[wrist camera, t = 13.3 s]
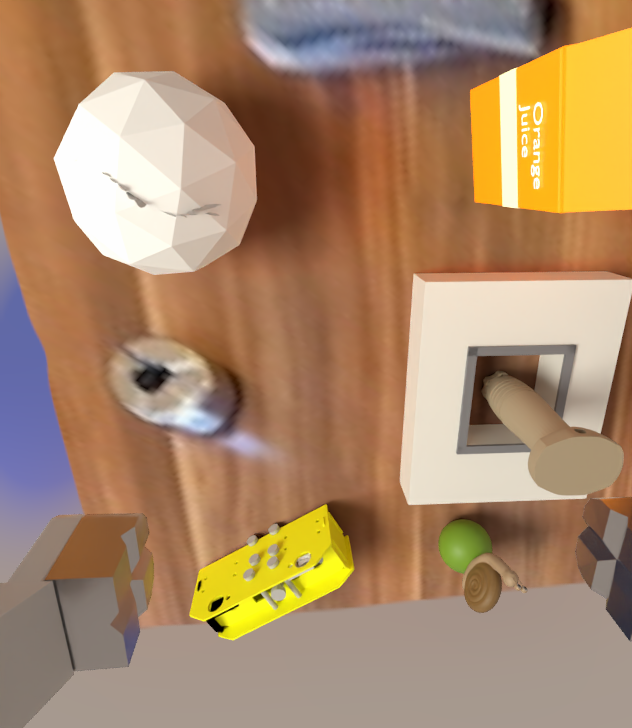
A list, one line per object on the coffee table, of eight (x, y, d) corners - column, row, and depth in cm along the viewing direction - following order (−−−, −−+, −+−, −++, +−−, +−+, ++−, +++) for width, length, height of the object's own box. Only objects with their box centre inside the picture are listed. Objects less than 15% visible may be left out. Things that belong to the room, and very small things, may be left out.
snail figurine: (495, 512, 55) (549, 598, 44) (463, 555, 57) (507, 648, 46) (454, 494, 54) (498, 578, 43) (423, 539, 56) (458, 630, 45)
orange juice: (473, 203, 43) (616, 222, 25) (468, 89, 40) (627, 13, 22) (562, 187, 43) (772, 196, 25) (564, 73, 40) (806, -18, 22)
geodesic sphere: (326, 109, 35) (173, 39, 24) (290, 298, 40) (147, 314, 28) (184, 90, 42) (13, 29, 31) (167, 254, 46) (13, 253, 35)
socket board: (413, 273, 45) (426, 282, 41) (606, 271, 46) (637, 280, 42) (399, 481, 53) (409, 506, 49) (565, 476, 54) (587, 500, 50)
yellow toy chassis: (323, 496, 53) (330, 551, 45) (349, 533, 55) (359, 592, 47) (197, 561, 55) (183, 625, 48) (226, 595, 57) (217, 661, 49)
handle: (523, 407, 51) (614, 495, 37) (461, 406, 50) (529, 495, 36) (531, 362, 49) (631, 436, 35) (467, 361, 49) (541, 436, 35)
